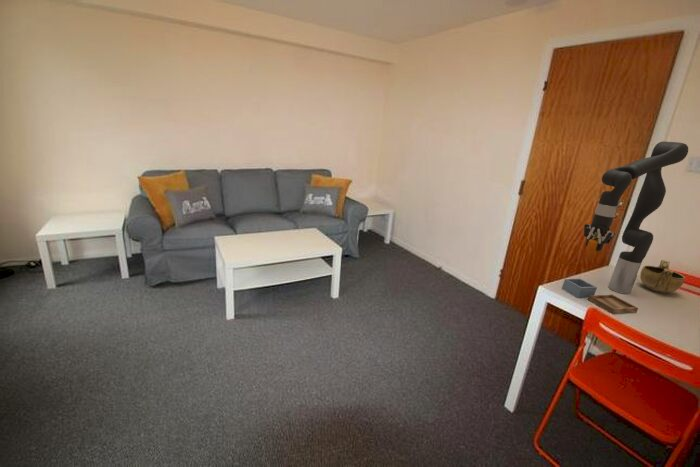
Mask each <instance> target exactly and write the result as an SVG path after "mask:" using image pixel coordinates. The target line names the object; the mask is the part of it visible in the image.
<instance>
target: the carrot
mask: <svg viewBox="0 0 700 467" xmlns="http://www.w3.org/2000/svg"><path fill="white" fill-rule="evenodd" d="M597 234H598V233H595V234H594V238H593V239H590V240H589V242H588V245H587V247H586V253H585V255H586V256H585V258H586V262H587V263H588V262H589V263H590V262H591V261H592V260H593V259H594V258H595V257H596V255H597V254H598V252H599V251H596V247H597V244H598V243H599V239H598V236H597ZM601 237H603V236H601Z"/></svg>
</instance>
